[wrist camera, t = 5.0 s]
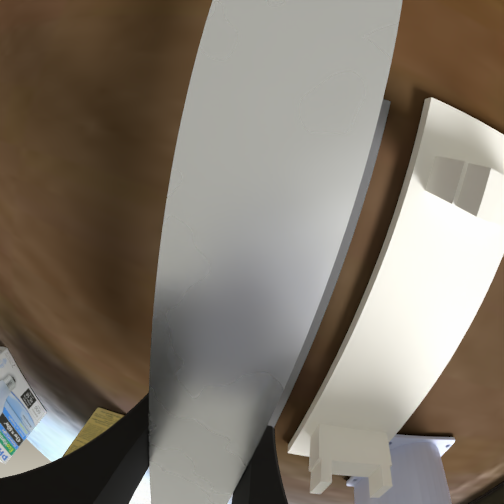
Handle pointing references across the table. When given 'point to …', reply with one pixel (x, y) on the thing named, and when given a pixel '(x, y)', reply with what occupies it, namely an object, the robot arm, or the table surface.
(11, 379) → the light bulb box
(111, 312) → the table surface
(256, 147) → the rail
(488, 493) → the diary
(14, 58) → the table surface
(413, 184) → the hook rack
